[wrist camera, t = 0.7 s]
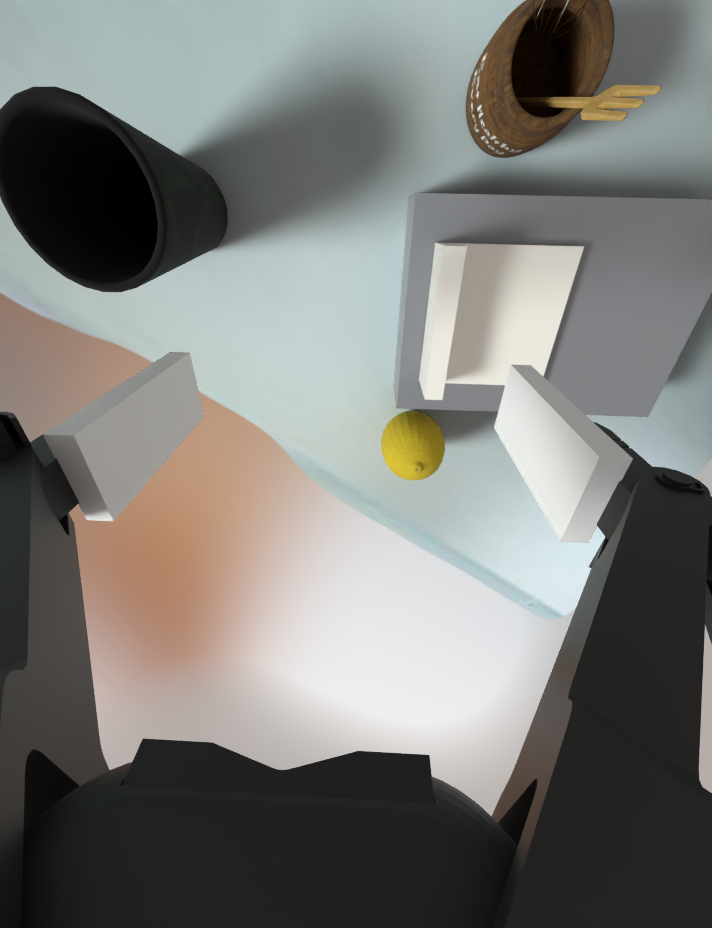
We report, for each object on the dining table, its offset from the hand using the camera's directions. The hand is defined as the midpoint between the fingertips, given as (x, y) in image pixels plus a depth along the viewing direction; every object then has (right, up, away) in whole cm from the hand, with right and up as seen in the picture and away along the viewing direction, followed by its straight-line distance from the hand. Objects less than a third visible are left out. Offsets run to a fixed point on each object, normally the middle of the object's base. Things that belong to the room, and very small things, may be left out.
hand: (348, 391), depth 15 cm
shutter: (+10, +7, +11) cm, 16 cm away
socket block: (+14, +10, +15) cm, 23 cm away
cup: (-12, +16, +12) cm, 23 cm away
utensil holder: (+10, +20, +9) cm, 24 cm away
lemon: (+5, +1, +21) cm, 22 cm away
